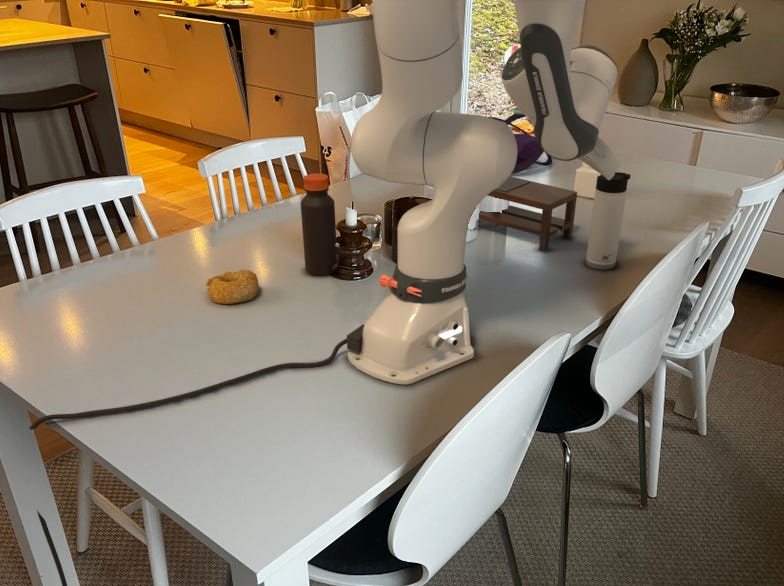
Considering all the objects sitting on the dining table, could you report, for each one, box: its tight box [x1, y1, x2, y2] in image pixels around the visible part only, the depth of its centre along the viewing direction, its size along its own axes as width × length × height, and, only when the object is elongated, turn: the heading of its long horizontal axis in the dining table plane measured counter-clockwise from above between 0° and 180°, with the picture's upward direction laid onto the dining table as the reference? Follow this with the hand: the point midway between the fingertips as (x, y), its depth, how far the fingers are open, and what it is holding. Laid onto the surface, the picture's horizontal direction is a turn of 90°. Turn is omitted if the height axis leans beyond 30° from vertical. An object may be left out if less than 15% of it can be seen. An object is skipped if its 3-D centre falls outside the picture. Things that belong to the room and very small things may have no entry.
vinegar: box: [300, 172, 338, 277], centre depth 153 cm, size 7×7×20 cm
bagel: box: [205, 268, 259, 305], centre depth 145 cm, size 10×11×5 cm
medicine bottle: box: [573, 161, 601, 200], centre depth 200 cm, size 7×7×12 cm
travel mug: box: [585, 171, 631, 271], centre depth 156 cm, size 6×7×20 cm
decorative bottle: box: [487, 100, 553, 175], centre depth 220 cm, size 22×21×25 cm
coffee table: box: [478, 175, 578, 253], centre depth 174 cm, size 12×22×11 cm, turn 50°
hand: (595, 165), depth 142 cm, fingers open, 8 cm apart
